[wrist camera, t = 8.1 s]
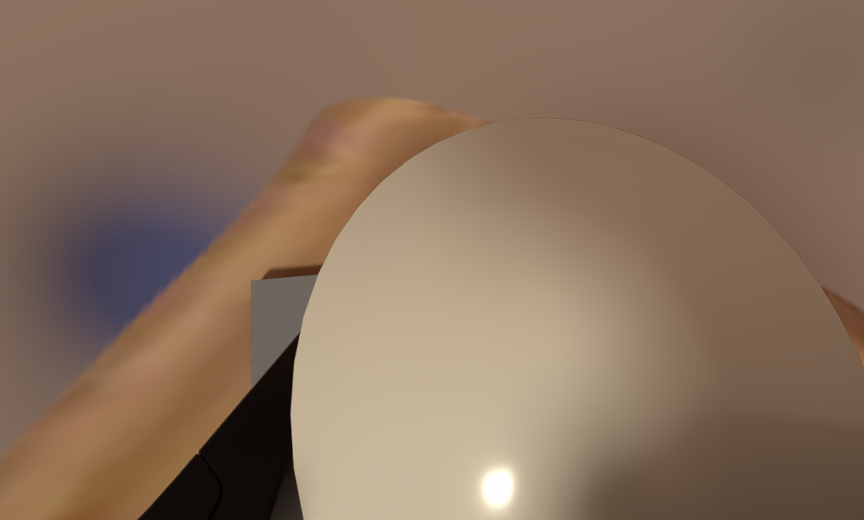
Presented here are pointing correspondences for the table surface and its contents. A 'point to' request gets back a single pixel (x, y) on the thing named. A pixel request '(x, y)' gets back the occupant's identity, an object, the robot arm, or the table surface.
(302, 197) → the table surface
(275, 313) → the slate coaster
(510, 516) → the frosted tapered cylinder
